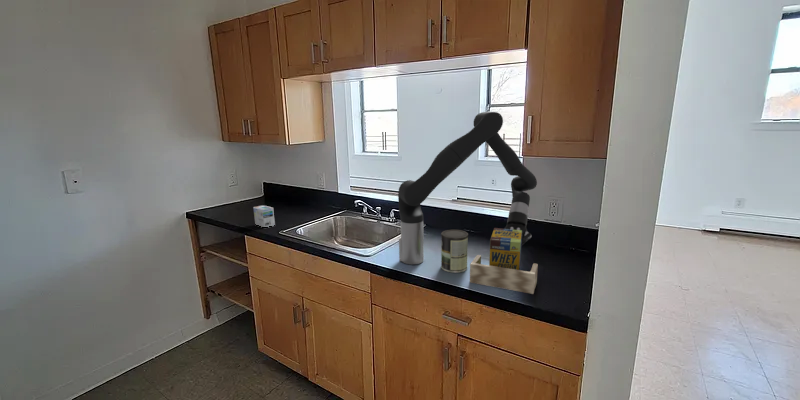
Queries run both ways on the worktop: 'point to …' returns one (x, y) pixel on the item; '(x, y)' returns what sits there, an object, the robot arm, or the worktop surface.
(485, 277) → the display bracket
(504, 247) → the protein box
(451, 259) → the coffee can
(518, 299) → the worktop surface
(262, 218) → the light bulb box
